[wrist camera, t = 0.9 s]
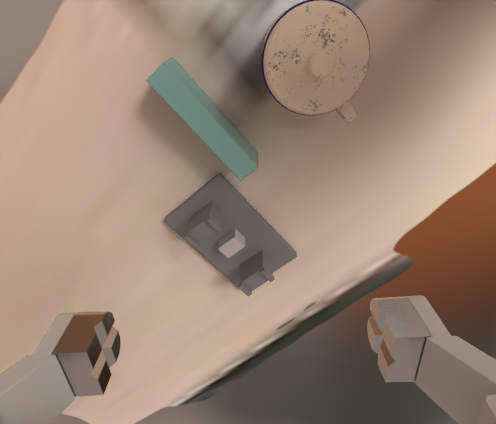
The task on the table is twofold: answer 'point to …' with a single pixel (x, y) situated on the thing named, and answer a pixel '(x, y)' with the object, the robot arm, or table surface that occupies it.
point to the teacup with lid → (316, 58)
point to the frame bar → (204, 117)
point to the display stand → (231, 234)
